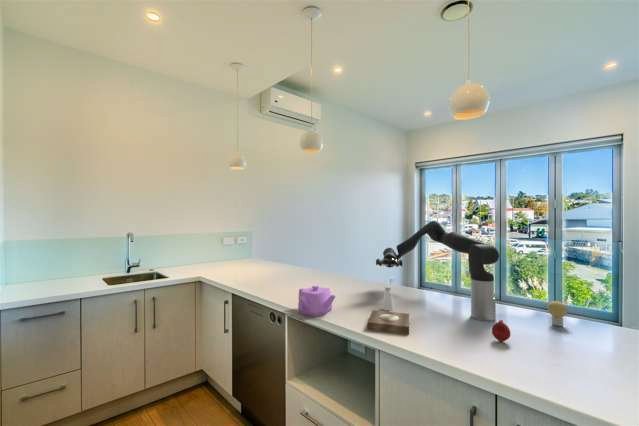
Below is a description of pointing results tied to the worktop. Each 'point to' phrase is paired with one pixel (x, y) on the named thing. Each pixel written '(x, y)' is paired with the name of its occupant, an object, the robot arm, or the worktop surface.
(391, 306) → the pepper shaker
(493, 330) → the onion
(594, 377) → the worktop surface
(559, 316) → the light bulb
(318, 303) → the teakettle
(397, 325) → the walnut plinth
